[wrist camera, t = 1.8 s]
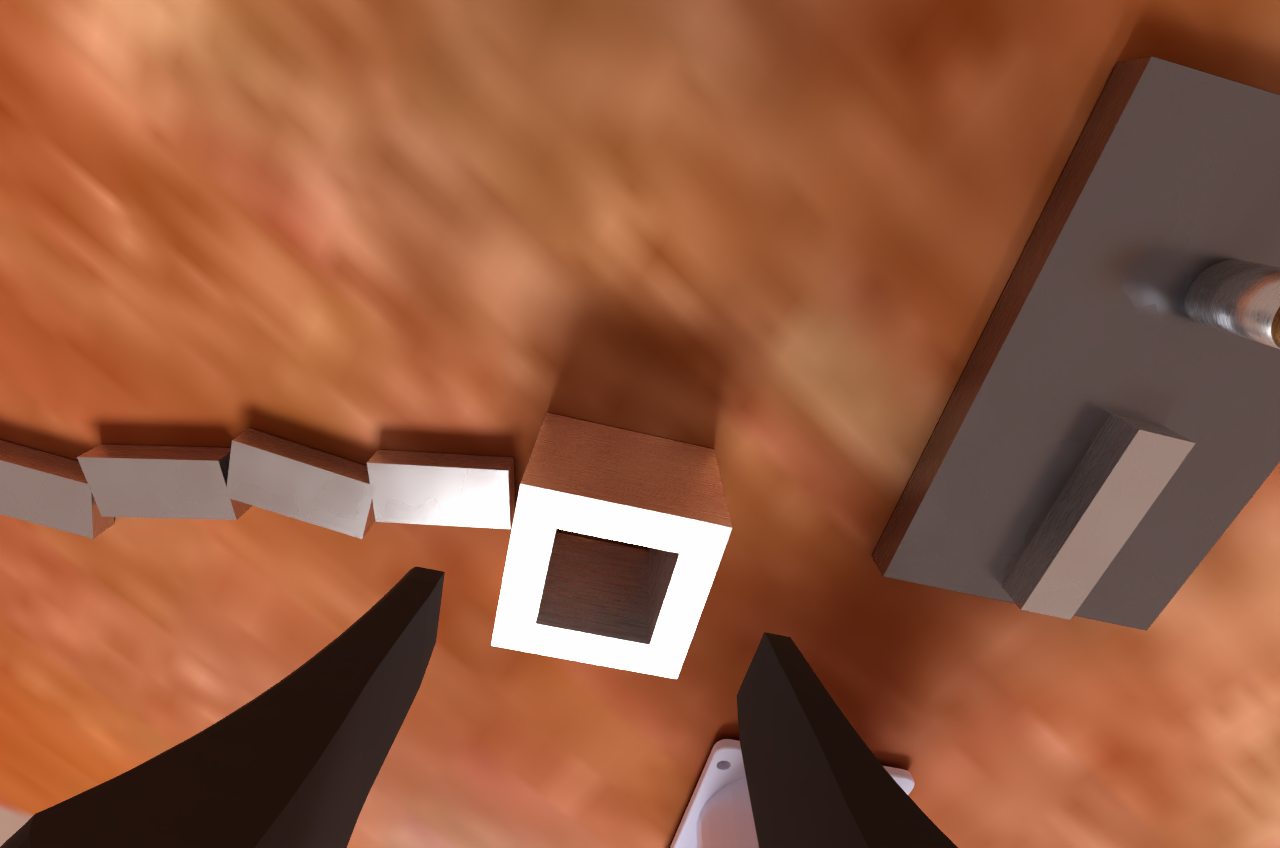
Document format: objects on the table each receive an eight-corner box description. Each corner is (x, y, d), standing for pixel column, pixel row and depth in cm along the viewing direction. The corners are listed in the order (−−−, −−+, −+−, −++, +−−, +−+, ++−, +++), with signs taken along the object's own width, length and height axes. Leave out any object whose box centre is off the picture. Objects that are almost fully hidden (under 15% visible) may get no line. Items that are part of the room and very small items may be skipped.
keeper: (1123, 608, 20) (1230, 710, 16) (871, 556, 19) (925, 651, 15) (1456, 164, 14) (1736, 170, 11) (1117, 62, 13) (1293, 30, 10)
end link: (671, 580, 20) (676, 679, 16) (520, 550, 19) (491, 645, 15) (714, 449, 18) (732, 527, 14) (546, 412, 17) (519, 483, 13)
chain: (520, 525, 19) (515, 540, 18) (-4, 522, 19) (-31, 538, 18) (511, 428, 17) (505, 441, 17) (-57, 426, 17) (-88, 439, 17)
